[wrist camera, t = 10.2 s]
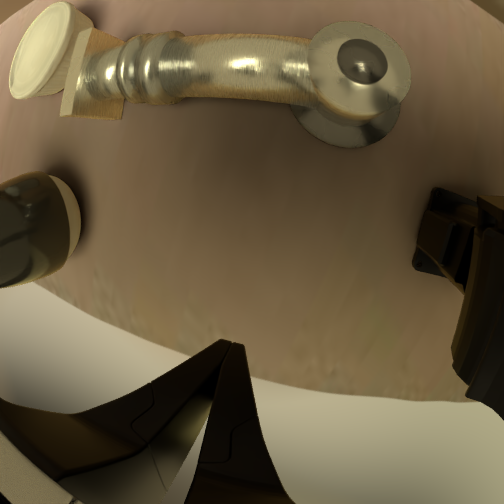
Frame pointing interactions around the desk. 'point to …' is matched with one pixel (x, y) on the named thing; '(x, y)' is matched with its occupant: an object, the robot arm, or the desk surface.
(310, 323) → the desk surface
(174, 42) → the elbow
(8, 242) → the black egg-shaped dome
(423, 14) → the desk surface
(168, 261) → the desk surface
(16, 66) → the ramekin
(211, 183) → the desk surface
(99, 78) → the metal pipe fitting
